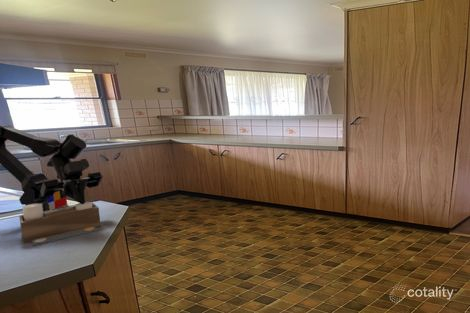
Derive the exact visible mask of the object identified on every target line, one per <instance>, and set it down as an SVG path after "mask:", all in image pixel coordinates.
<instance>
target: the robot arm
mask: <svg viewBox="0 0 470 313" xmlns="http://www.w3.org/2000/svg"><path fill="white" fill-rule="evenodd" d="M7 141H11V142H13V143H16V144H18V145H22V146H24V147H26V148H28V149H29V150H31V152H32V153H33V154H34V155H37V156H39V158H40V157H41V158H46V157H50V156H51V157H50V158H49V159H48V162H47V163H46V166H47V167H52V168H54V171H55V172H56V178H53V179H49V178H48V177H47V176H46V175H45V174H44V173H38V174H35V173H33V172H32V171H31V170H30V169H29V168H28V167H27V166H25V165H24V163H23V162H21V161H20V159H18V158H17V157H16V156H15V155H13V153H11V151H9V150H8V149H7V147H6V142H7ZM86 148H87V144H86V142H85V140H83V139H82V138H80V137H78V136H76V135H74V134H68V135H67V136H66V138H65V139H64V140H63V142H60V141H59V140H57V139H55V138H49V137H40V136H36V135H33V134H30V133H29V132H25V131H23V130H20V129H19V128H18V129H17V128H14V127H13V126H11V125H0V165H1V166H2V167H3V168H4V169H5V170H7V172H8V173H9V174H11V176H13V178H15V179H16V180H17V181H18V182H19V183H20V186H21V190H22V192H23V193H22V195H21V196H20V197H19V199H18V201H19V203H20V205H22V206H25V205H29V204H35V203H41V204H42V207H43V212H44V211H49V210H50V209H49V204H48V201H47V200H46V199H50V198H51V196H53V195H54V193H55V192H54V190H58V189H62V191H63V192H62V195H66V197H69V198H71V199H72V200H75V201H76V202H77V203H78V204H79V203H81V204H84V203H85V202H86V199H85V198H86V197H85V196H86V195H85V190H86V187H87V188H89V189H92V188H96V187H98V186H100V184H101V181H102V179H103V178H104V176H103V174H102V173H101V172H100V171H93V172H88V174H87V175H86V176H87V177H83V171H85V170H88V168H89V167H90V164H89V161H88V159H87V158H81V159H80V160H77V158H78V157H79V156H80V154H81V153H82V152H83V151H84V150H85V149H86ZM72 160H73V161H72ZM58 179H59V180H60V181H61V183H58V181H59V180H58Z"/></svg>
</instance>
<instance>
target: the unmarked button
mask: <svg viewBox="0 0 470 313" xmlns="http://www.w3.org/2000/svg"><path fill="white" fill-rule="evenodd" d="M22 213H23V215H24V221H27V220H32V219H37V218H42V217H44V215H43V207H42V204H41V203H35V204H29V205H22Z"/></svg>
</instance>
